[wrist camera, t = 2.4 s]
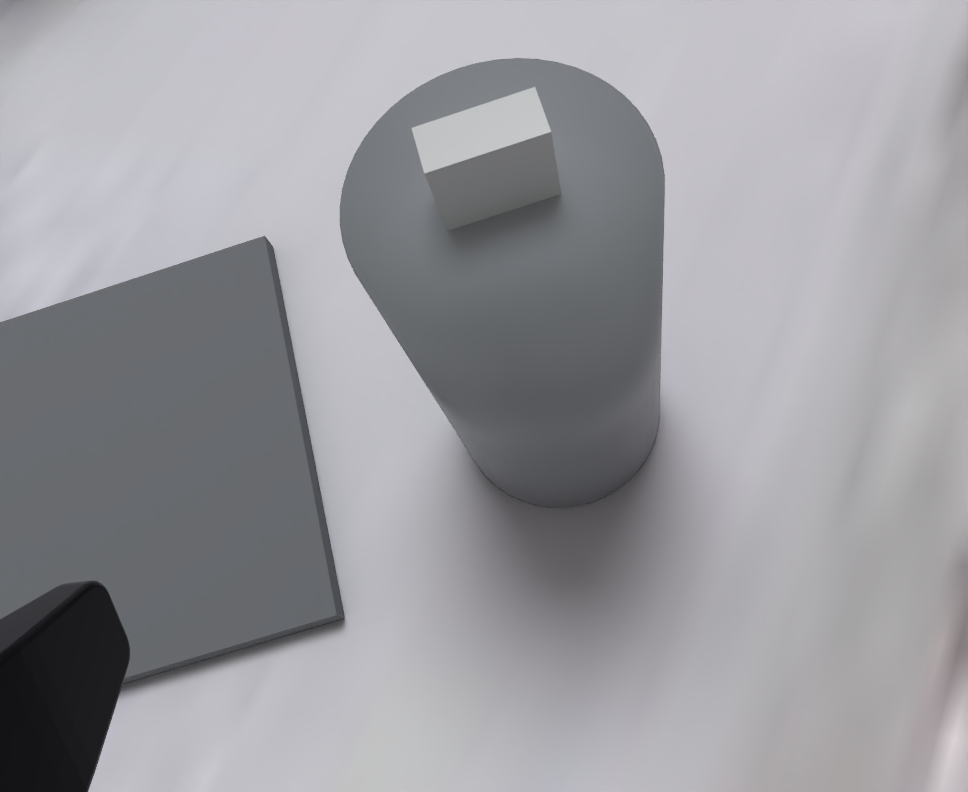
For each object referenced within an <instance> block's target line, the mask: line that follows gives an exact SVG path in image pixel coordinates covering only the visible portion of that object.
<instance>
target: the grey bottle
mask: <svg viewBox="0 0 968 792" xmlns="http://www.w3.org/2000/svg"><path fill="white" fill-rule="evenodd" d="M664 198H665V175H664V169H663V162H662V156H661V153H660V150H659V147H658V144H657V141H656V139H655V137H654V135H653V133H652V131H651V129H650V127H649V125H648V123H647V122H646V120H645V119H644V117H643V116H642V115H641V113H640V112H639V111H638V109H637V108H636V107H635V106H634V105H633V104H632V103H631V102H630V101H629V100H628V99H627V98H626V97H625V96H624V95H623V94H622V93H620V92H619V91H618V90H617V89H615V88H614V87H613V86H611V85H610V84H609V83H607V82H605V81H603V80H602V79H600V78H598V77H596V76H595V75H593V74H590V73H588V72H586V71H583V70H581V69H578V68H576V67H572V66H569V65H565V64H562V63H558V62H553V61H546V60H540V59H523V58H514V59H499V60H492V61H486V62H480V63H476V64H472V65H469V66H465V67H462V68H458V69H456V70H453V71H450V72H448V73H445V74H443V75H440V76H438V77H436V78H434V79H432V80H430V81H429V82H427V83H425V84H423V85H421V86H419V87H418V88H416V89H415V90H413V91H412V92H410V93H409V94H407V95H406V96H404V97H403V98H402V99H401V100H400V101H398V102H397V103H396V104H395V105H394V106H392V107H391V108H390V109H389V110H388V111H387V112H386V113H385V114H384V115H383V116H382V117H381V118H380V119H379V120H378V121H377V122H376V124H375V125H374V126H373V127H372V129H371V130H370V131H369V133H368V134H367V135H366V137H365V138H364V140H363V141H362V143H361V145H360V146H359V148H358V150H357V151H356V153H355V155H354V157H353V160H352V162H351V164H350V166H349V169H348V171H347V174H346V178H345V181H344V185H343V188H342V195H341V202H340V228H341V234H342V241H343V245H344V248H345V251H346V254H347V257H348V260H349V262H350V264H351V266H352V268H353V270H354V272H355V274H356V276H357V278H358V279H359V281H360V282H361V284H362V285H363V287H364V288H365V290H366V292H367V293H368V295H369V296H370V298H371V299H372V301H373V303H374V304H375V306H376V307H377V309H378V310H379V312H380V314H381V315H382V317H383V318H384V320H385V321H386V323H387V325H388V326H389V328H390V329H391V331H392V332H393V334H394V335H395V337H396V339H397V340H398V342H399V343H400V345H401V346H402V348H403V350H404V351H405V353H406V354H407V356H408V357H409V359H410V361H411V362H412V364H413V365H414V367H415V368H416V370H417V372H418V373H419V375H420V376H421V378H422V379H423V381H424V383H425V384H426V386H427V387H428V389H429V390H430V392H431V393H432V395H433V397H434V398H435V400H436V401H437V403H438V404H439V406H440V408H441V409H442V411H443V412H444V414H445V415H446V417H447V419H448V420H449V422H450V423H451V425H452V426H453V428H454V430H455V431H456V433H457V434H458V436H459V437H460V439H461V440H462V442H463V444H464V445H465V447H466V448H467V450H468V451H469V453H470V455H471V456H472V458H473V459H474V461H475V462H476V464H477V465H478V467H479V468H480V470H481V471H482V472H483V474H484V475H485V476H486V477H487V478H488V479H489V480H490V481H491V482H492V483H493V484H494V485H496V486H497V487H498V488H499V489H501V490H502V491H504V492H505V493H507V494H509V495H510V496H512V497H514V498H516V499H519V500H521V501H523V502H527V503H530V504H533V505H538V506H544V507H557V508H564V507H574V506H579V505H583V504H588V503H591V502H593V501H596V500H599V499H601V498H603V497H605V496H607V495H609V494H611V493H613V492H614V491H616V490H617V489H618V488H620V487H621V486H623V485H624V484H625V483H626V482H627V481H628V480H630V479H631V478H632V477H633V476H634V475H635V473H636V472H637V471H638V470H639V469H640V467H641V466H642V465H643V463H644V462H645V460H646V458H647V457H648V455H649V453H650V451H651V449H652V447H653V444H654V442H655V438H656V435H657V431H658V425H659V417H660V373H661V329H662V286H663V242H664Z"/></svg>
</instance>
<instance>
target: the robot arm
mask: <svg viewBox="0 0 968 792" xmlns="http://www.w3.org/2000/svg"><path fill="white" fill-rule="evenodd" d="M129 660H130V645H129V641H128V637H127V635H126V633H125V630H124V628H123V625H122V623H121V621H120V618H119V616H118V613H117V611H116V609H115V606H114V604H113V602H112V599H111V597H110V594H109V592H108V590H107V589H106V587H105V586H104V585H103V584H102V583H100V582H98V581H82V582H74V583H65V584H62V585H59V586H57V587H55V588H53V589H52V590H50V591H48V592H46V593H45V594H43V595H41V596H40V597H38V598H36V599H34V600H33V601H31V602H29V603H27V604H26V605H24V606H22V607H20V608H19V609H17V610H15V611H14V612H12V613H10V614H8V615H7V616H5V617H3V618H1V619H0V792H88V790H89V787H90V784H91V781H92V778H93V776H94V773H95V770H96V767H97V764H98V760H99V757H100V754H101V751H102V748H103V745H104V741H105V738H106V735H107V732H108V729H109V726H110V722H111V719H112V716H113V713H114V710H115V707H116V703H117V700H118V697H119V694H120V691H121V688H122V684H123V681H124V678H125V675H126V672H127V669H128V665H129Z"/></svg>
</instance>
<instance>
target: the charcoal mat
mask: <svg viewBox="0 0 968 792" xmlns="http://www.w3.org/2000/svg"><path fill="white" fill-rule="evenodd" d="M82 581H98V582H100V583H102V584H103V585H104V586H105V587H106V589H107V590H108V592H109V594H110V597H111V599H112V602H113V604H114V606H115V609H116V611H117V613H118V616H119V618H120V621H121V623H122V625H123V628H124V630H125V633H126V635H127V637H128V641H129V645H130V660H129V665H128V669H127V672H126V675H125V678H124V681H123V684H124V683H128V682H131V681H134V680H138V679H141V678H145V677H148V676H151V675H155V674H158V673H161V672H165V671H168V670H171V669H175V668H178V667H182V666H185V665H188V664H192V663H195V662H198V661H202V660H205V659H209V658H212V657H215V656H219V655H222V654H225V653H229V652H232V651H235V650H239V649H242V648H246V647H249V646H252V645H256V644H259V643H262V642H266V641H269V640H273V639H276V638H279V637H283V636H286V635H289V634H293V633H296V632H299V631H303V630H306V629H310V628H313V627H316V626H320V625H323V624H326V623H330V622H333V621H337V620H340V619H343V618H344V613H343V607H342V602H341V597H340V592H339V587H338V582H337V576H336V571H335V566H334V561H333V556H332V550H331V545H330V540H329V535H328V530H327V525H326V519H325V514H324V509H323V504H322V499H321V493H320V488H319V483H318V478H317V473H316V468H315V462H314V457H313V452H312V447H311V442H310V436H309V431H308V426H307V421H306V416H305V411H304V405H303V400H302V395H301V390H300V385H299V379H298V374H297V369H296V364H295V359H294V354H293V348H292V343H291V338H290V333H289V328H288V322H287V317H286V312H285V307H284V302H283V297H282V291H281V286H280V281H279V276H278V271H277V265H276V260H275V255H274V250H273V246H272V245H271V243H270V242H269V241H268V240H267V238H266V237H265V236H263V237H260V238H257V239H254V240H250V241H247V242H244V243H241V244H238V245H235V246H232V247H229V248H226V249H223V250H220V251H217V252H214V253H211V254H208V255H205V256H202V257H199V258H196V259H193V260H189V261H186V262H183V263H180V264H177V265H174V266H171V267H168V268H165V269H162V270H159V271H156V272H153V273H150V274H147V275H144V276H141V277H138V278H135V279H132V280H128V281H125V282H122V283H119V284H116V285H113V286H110V287H107V288H104V289H101V290H98V291H95V292H92V293H89V294H86V295H83V296H80V297H77V298H74V299H71V300H68V301H64V302H61V303H58V304H55V305H52V306H49V307H46V308H43V309H40V310H37V311H34V312H31V313H28V314H25V315H22V316H19V317H16V318H13V319H10V320H7V321H3V322H0V619H1V618H3V617H5V616H7V615H8V614H10V613H12V612H14V611H15V610H17V609H19V608H20V607H22V606H24V605H26V604H27V603H29V602H31V601H33V600H34V599H36V598H38V597H40V596H41V595H43V594H45V593H46V592H48V591H50V590H52V589H53V588H55V587H57V586H59V585H62V584H65V583H74V582H82Z"/></svg>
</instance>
